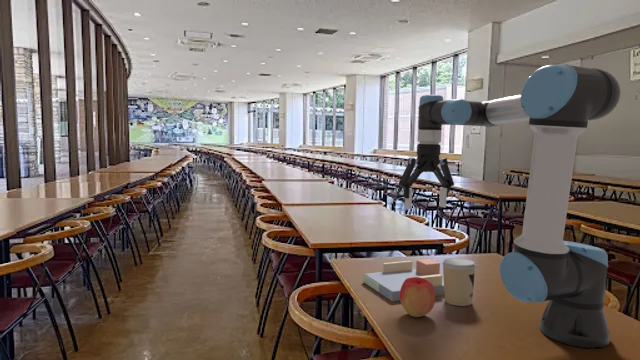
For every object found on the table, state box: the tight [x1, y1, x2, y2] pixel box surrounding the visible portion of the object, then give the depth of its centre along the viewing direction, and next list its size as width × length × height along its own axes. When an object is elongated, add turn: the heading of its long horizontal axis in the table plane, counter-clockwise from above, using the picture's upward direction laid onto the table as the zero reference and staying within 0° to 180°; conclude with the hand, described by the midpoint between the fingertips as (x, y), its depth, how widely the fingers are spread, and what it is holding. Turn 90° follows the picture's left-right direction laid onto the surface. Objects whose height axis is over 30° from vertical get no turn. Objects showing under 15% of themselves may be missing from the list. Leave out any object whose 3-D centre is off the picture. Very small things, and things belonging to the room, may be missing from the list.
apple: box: [400, 277, 436, 318], centre depth 120 cm, size 10×10×10 cm
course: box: [362, 260, 445, 302], centre depth 143 cm, size 18×24×6 cm
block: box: [415, 258, 441, 276], centre depth 149 cm, size 6×6×4 cm
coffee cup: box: [442, 257, 477, 307], centre depth 131 cm, size 9×9×12 cm
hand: (425, 207), depth 147 cm, fingers open, 13 cm apart
